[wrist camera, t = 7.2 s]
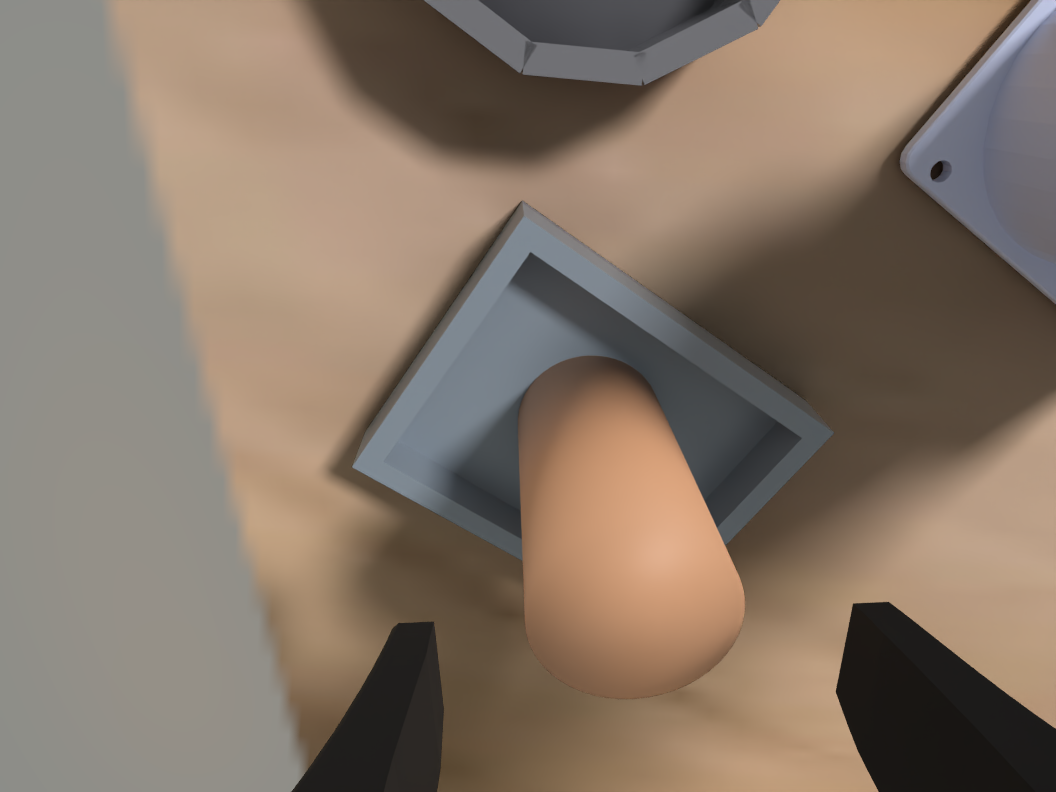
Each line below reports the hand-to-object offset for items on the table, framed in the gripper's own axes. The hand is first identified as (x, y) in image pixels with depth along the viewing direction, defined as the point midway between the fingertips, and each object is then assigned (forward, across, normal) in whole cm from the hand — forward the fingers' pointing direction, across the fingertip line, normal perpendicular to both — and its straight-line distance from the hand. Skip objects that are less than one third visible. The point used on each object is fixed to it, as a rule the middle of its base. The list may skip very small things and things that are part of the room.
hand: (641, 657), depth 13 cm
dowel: (+9, 0, 0) cm, 9 cm away
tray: (+9, 0, 0) cm, 9 cm away
